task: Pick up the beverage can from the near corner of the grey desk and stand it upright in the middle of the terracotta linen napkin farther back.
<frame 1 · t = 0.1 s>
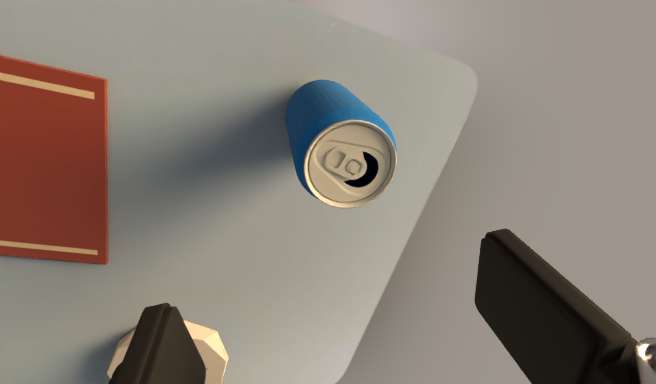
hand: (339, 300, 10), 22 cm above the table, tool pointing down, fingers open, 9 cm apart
beverage can: (320, 115, 30), on the table
table lamp: (173, 354, 41), on the table
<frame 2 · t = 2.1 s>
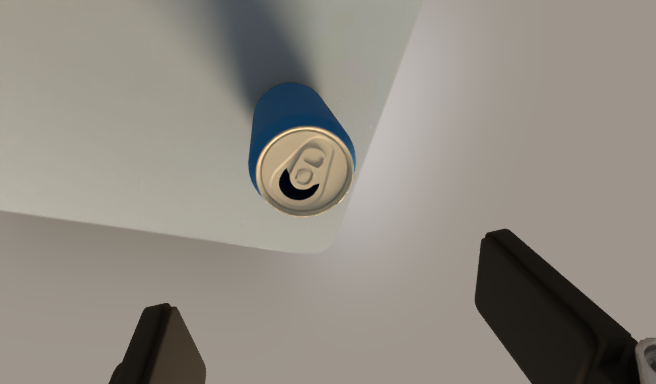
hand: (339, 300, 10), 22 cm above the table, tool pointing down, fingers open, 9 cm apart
beverage can: (290, 118, 30), on the table
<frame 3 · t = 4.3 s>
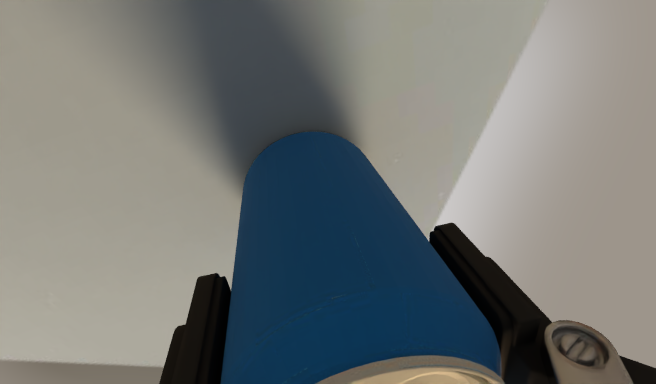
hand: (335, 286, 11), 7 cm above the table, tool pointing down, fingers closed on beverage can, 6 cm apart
beverage can: (308, 186, 17), on the table, touching gripper
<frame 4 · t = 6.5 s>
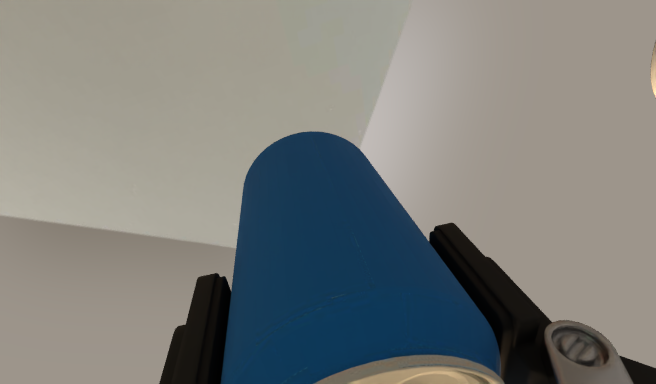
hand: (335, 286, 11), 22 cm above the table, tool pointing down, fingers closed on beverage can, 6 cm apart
beverage can: (308, 186, 17), point 15 cm above the table, touching gripper
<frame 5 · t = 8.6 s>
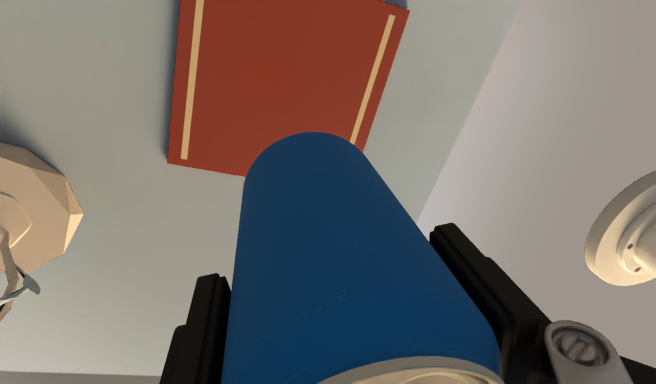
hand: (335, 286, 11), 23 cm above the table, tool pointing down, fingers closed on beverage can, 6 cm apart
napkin: (283, 89, 30), on the table
beverage can: (308, 187, 17), point 16 cm above the table, touching gripper
table lamp: (3, 203, 31), on the table
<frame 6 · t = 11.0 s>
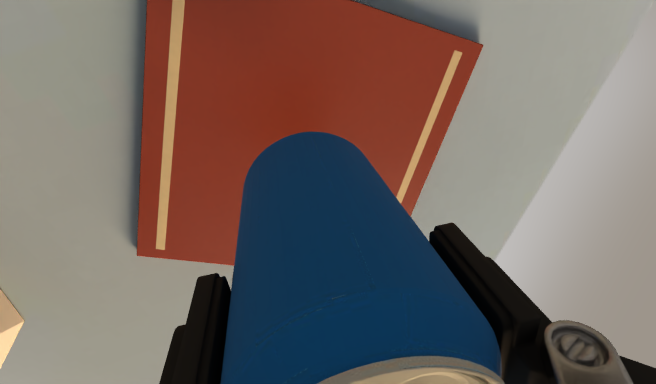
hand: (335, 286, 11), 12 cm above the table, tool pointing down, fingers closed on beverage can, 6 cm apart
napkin: (299, 154, 21), on the table
beverage can: (308, 186, 17), point 5 cm above the table, touching gripper
when the fingers open (7 cm above the table, at t = 12.7 s): beverage can stays where it is, resting on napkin.
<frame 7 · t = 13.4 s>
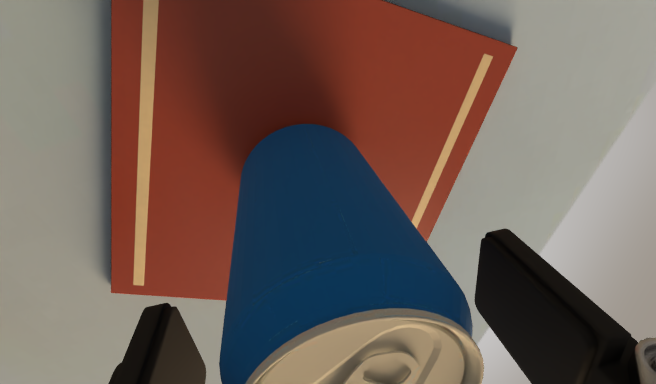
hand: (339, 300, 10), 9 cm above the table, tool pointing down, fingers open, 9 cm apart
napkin: (300, 175, 18), on the table
beverage can: (303, 177, 18), resting on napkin
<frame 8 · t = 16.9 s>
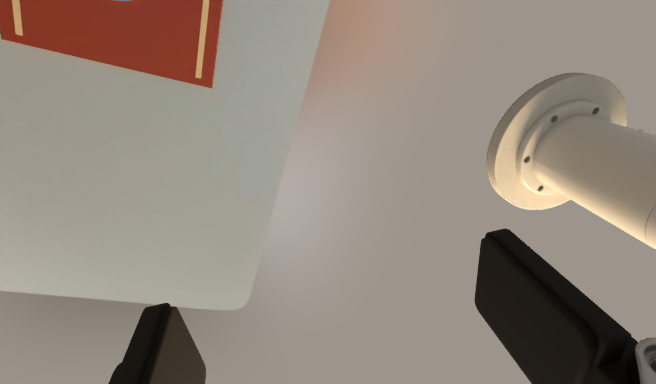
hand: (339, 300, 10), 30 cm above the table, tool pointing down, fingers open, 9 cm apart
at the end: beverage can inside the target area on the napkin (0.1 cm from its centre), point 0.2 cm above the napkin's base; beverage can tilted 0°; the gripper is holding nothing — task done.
